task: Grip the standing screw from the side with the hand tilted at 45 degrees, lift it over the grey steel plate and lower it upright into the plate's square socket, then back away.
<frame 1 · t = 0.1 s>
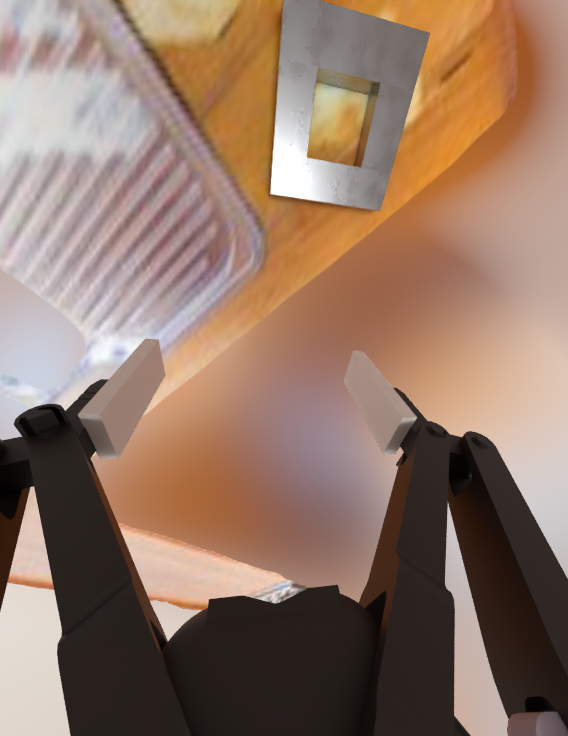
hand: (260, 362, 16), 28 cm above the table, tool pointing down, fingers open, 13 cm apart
socket plate: (334, 130, 30), on the table
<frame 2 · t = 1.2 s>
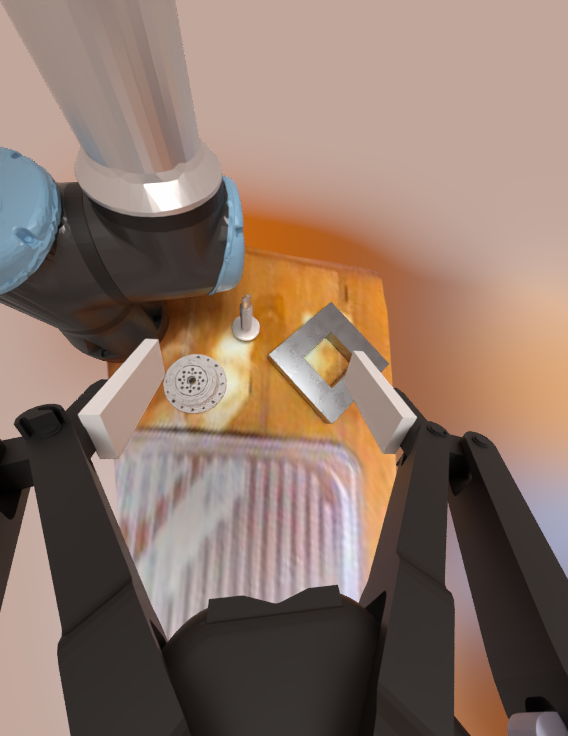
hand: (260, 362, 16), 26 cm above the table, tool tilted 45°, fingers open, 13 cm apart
socket plate: (325, 363, 44), on the table
screw: (246, 331, 43), on the table
mechanical component: (197, 384, 40), on the table
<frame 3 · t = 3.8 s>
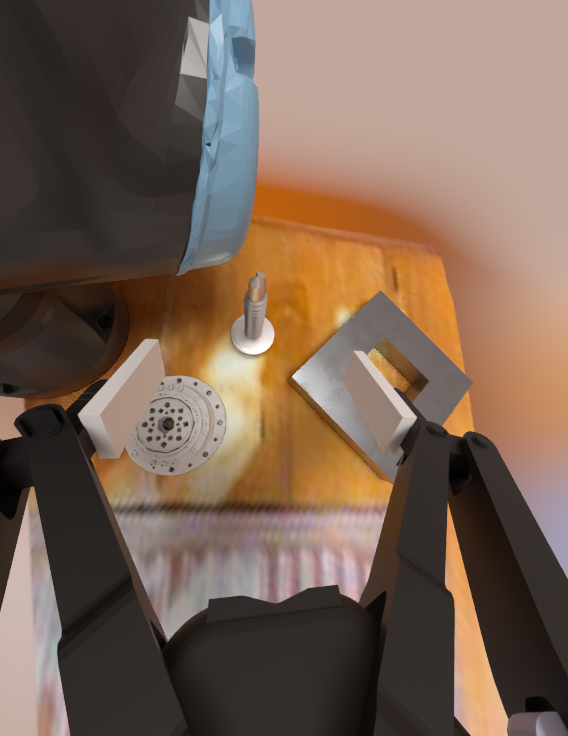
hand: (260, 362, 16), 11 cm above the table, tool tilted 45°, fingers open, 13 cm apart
socket plate: (374, 383, 29), on the table
screw: (252, 339, 28), on the table
mechanical component: (179, 422, 25), on the table
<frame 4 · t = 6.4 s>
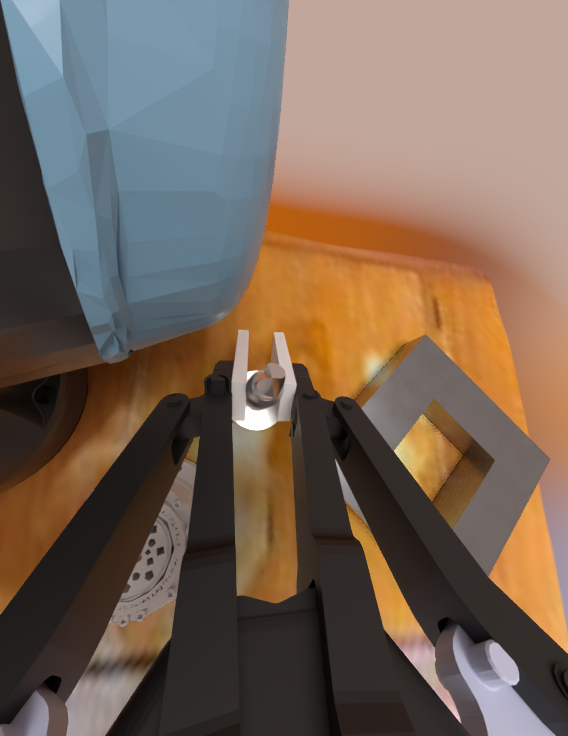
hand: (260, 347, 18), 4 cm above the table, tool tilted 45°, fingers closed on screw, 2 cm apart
socket plate: (416, 455, 22), on the table
screw: (256, 401, 21), on the table, touching gripper
mechanical component: (158, 520, 18), on the table
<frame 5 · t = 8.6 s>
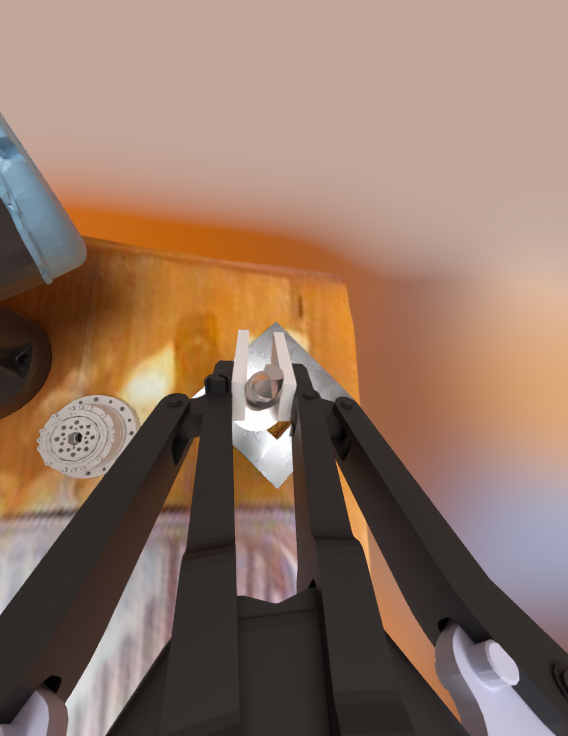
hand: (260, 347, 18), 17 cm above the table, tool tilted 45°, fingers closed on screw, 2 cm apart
socket plate: (273, 400, 34), on the table
screw: (256, 401, 21), point 13 cm above the table, touching gripper
mechanical component: (100, 434, 30), on the table
when the fingers open (5 cm above the table, at t = 11.0 s): screw drops 2 cm, on the table.
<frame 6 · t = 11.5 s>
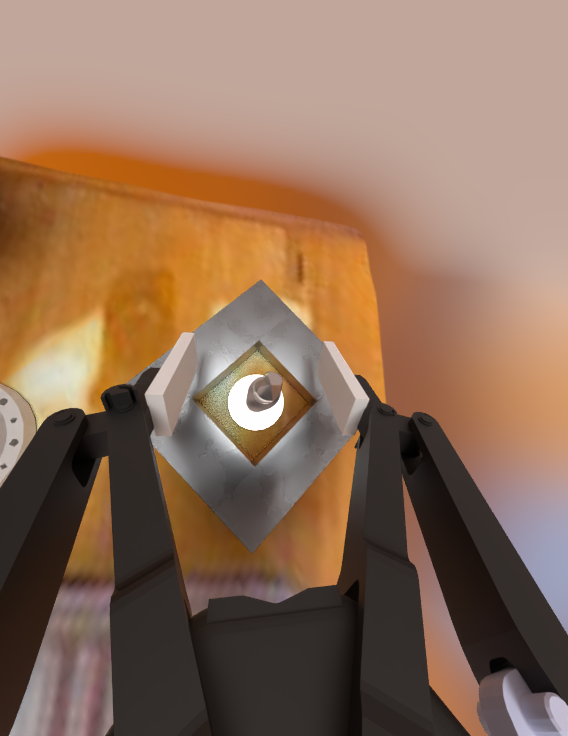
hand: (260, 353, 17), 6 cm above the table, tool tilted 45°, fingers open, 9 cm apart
socket plate: (255, 402, 22), on the table
screw: (255, 403, 22), on the table
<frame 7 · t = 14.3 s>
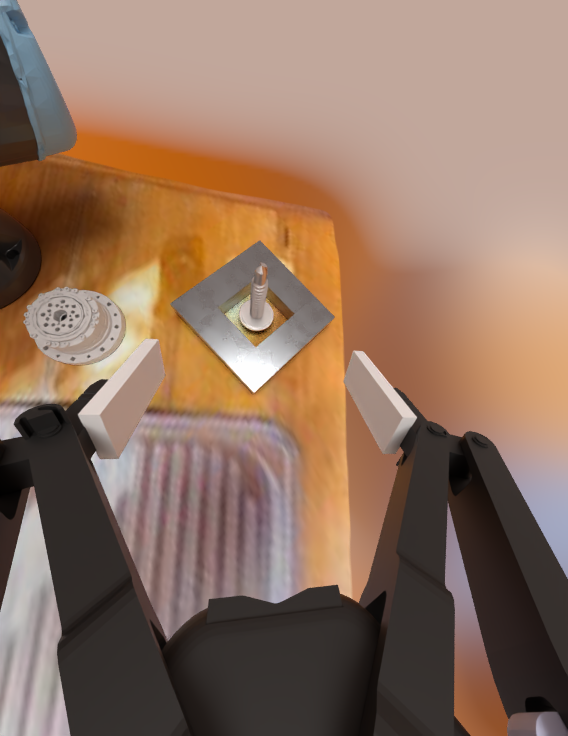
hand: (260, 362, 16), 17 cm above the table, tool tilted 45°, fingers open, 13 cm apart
socket plate: (256, 319, 35), on the table
screw: (255, 320, 35), on the table
mechanical component: (87, 329, 31), on the table
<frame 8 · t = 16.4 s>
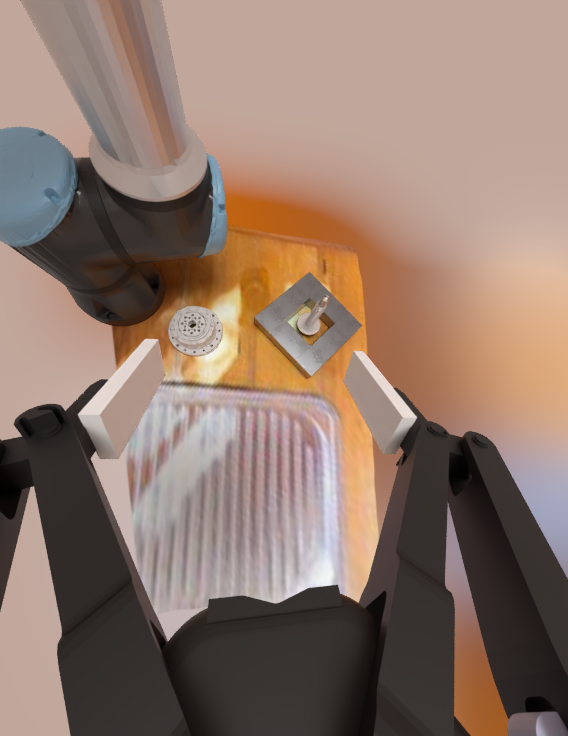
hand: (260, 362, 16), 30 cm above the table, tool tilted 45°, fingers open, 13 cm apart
socket plate: (306, 326, 50), on the table
screw: (306, 327, 50), on the table
mechanical component: (197, 333, 46), on the table
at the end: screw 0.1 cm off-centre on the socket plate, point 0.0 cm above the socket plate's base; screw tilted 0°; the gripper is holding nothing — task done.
